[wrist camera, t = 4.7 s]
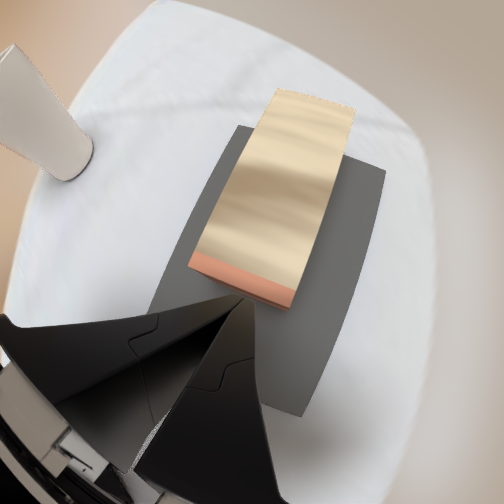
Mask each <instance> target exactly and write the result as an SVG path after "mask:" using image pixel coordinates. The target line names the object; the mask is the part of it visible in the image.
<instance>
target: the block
mask: <svg viewBox="0 0 504 504" xmlns="http://www.w3.org/2000/svg"><path fill="white" fill-rule="evenodd" d="M355 111H356V109H353V108H350V107H347V106H344V105H341V104H338V103H334V102H331V101H328V100H324V99H321V98H317V97H313V96H309V95H306V94H302V93H297V92H293V91H289V90H284V89H280V88H277V90H276V92H275V93H274V95H273V97H272V99H271V100H270V102H269V104H268V106H267V107H266V109H265V111H264V113H263V115H262V116H261V118H260V120H259V122H258V124H257V125H256V127H255V129H254V131H253V133H252V135H251V137H250V138H249V140H248V142H247V144H246V146H245V148H244V150H243V152H242V154H241V156H240V157H239V159H238V161H237V163H236V165H235V167H234V169H233V171H232V173H231V175H230V177H229V179H228V181H227V183H226V185H225V187H224V189H223V191H222V193H221V195H220V197H219V199H218V201H217V203H216V205H215V207H214V210H213V212H212V214H211V216H210V218H209V220H208V222H207V224H206V226H205V229H204V231H203V233H202V235H201V237H200V239H199V241H198V244H197V246H196V248H195V250H194V252H193V255H192V257H191V259H190V261H189V264H188V267H190V268H191V269H193V270H195V271H196V272H198V273H200V274H202V275H203V276H205V277H207V278H208V279H210V280H212V281H213V282H216V283H218V284H220V285H223V286H225V287H228V288H230V289H232V290H235V291H237V292H240V293H242V294H245V295H247V296H249V297H252V298H254V299H257V300H259V301H262V302H264V303H267V304H269V305H272V306H274V307H277V308H280V309H282V310H285V311H287V312H288V310H289V307H290V305H291V302H292V300H293V297H294V295H295V292H296V290H297V287H298V285H299V282H300V279H301V277H302V274H303V272H304V269H305V266H306V263H307V261H308V258H309V255H310V253H311V250H312V247H313V244H314V242H315V239H316V236H317V233H318V230H319V227H320V225H321V222H322V219H323V216H324V213H325V210H326V207H327V204H328V201H329V198H330V195H331V192H332V189H333V186H334V182H335V179H336V176H337V173H338V170H339V166H340V163H341V160H342V157H343V153H344V150H345V146H346V143H347V140H348V136H349V133H350V129H351V126H352V122H353V118H354V115H355Z"/></svg>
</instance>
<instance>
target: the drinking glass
mask: <svg viewBox="0 0 504 504" xmlns="http://www.w3.org/2000/svg"><path fill="white" fill-rule="evenodd" d="M0 144H1V145H3V146H5V147H6V148H8V149H10V150H12V151H13V152H15V153H16V154H18V155H20V156H22V157H23V158H25V159H27V160H28V161H30V162H32V163H33V164H35V165H37V166H38V167H40V168H42V169H43V170H45V171H47V172H48V173H50V174H51V175H53V176H54V177H55V178H57V179H58V180H61V181H67V180H70V179H72V178H74V177H76V176H77V175H78V174H79V173H80V172H81V171H82V170H83V169H84V168H85V166H86V165H87V163H88V161H89V159H90V157H91V155H92V150H93V144H92V141H91V139H90V138H89V137H88V136H87V135H86V133H85V132H84V131H83V130H82V129H81V128H80V127H79V125H78V124H77V123H76V122H75V120H74V119H73V118H72V116H71V115H70V114H69V112H68V111H67V110H66V108H65V107H64V106H63V104H62V103H61V101H60V100H59V99H58V97H57V96H56V94H55V93H54V91H53V90H52V89H51V87H50V86H49V84H48V83H47V81H46V80H45V79H44V77H43V76H42V74H41V73H40V72H39V70H38V69H37V68H36V67H35V65H34V64H33V63H32V61H31V60H30V59H29V58H28V57H27V56H26V55H25V54H24V53H23V51H21V49H20V48H19V47H18V46H17V45H16V44H12V45H10V46H9V47H8V48H7V49H6V50H4V51H3V52H2V53H1V54H0Z"/></svg>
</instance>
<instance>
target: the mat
mask: <svg viewBox="0 0 504 504" xmlns="http://www.w3.org/2000/svg"><path fill="white" fill-rule="evenodd" d="M253 131H254V128H250V127H246V126H241V125H238V127H237V129H236V130H235V132H234V134H233V136H232V137H231V139H230V141H229V143H228V144H227V146H226V148H225V150H224V152H223V153H222V155H221V157H220V159H219V161H218V163H217V164H216V166H215V168H214V170H213V172H212V174H211V176H210V178H209V179H208V181H207V183H206V185H205V187H204V189H203V191H202V193H201V195H200V197H199V199H198V201H197V203H196V205H195V207H194V209H193V211H192V213H191V215H190V217H189V219H188V221H187V223H186V225H185V228H184V230H183V232H182V234H181V236H180V238H179V240H178V242H177V245H176V247H175V249H174V251H173V253H172V256H171V258H170V260H169V262H168V265H167V267H166V269H165V271H164V274H163V276H162V278H161V281H160V283H159V285H158V288H157V290H156V293H155V295H154V297H153V300H152V302H151V305H150V307H149V310H148V312H147V314H151V313H155V312H158V314H159V312H161V311H165V310H169V309H173V308H177V307H181V306H185V305H189V304H193V303H197V302H201V301H205V300H209V299H213V298H217V297H221V296H225V295H229V294H232V293H236V294H238V295H241V296H243V297H244V298H248V299H250V300H253V301H255V360H256V381H257V388H258V394H259V399H260V403H262V404H265V405H268V406H270V407H273V408H276V409H278V410H281V411H284V412H287V413H290V414H293V415H296V416H299V417H302V415H303V413H304V411H305V409H306V407H307V405H308V403H309V401H310V399H311V397H312V395H313V393H314V391H315V389H316V386H317V384H318V382H319V380H320V378H321V375H322V373H323V371H324V369H325V366H326V364H327V362H328V359H329V357H330V355H331V352H332V350H333V347H334V345H335V342H336V340H337V337H338V335H339V332H340V330H341V327H342V324H343V322H344V319H345V316H346V314H347V311H348V308H349V305H350V302H351V300H352V297H353V294H354V291H355V288H356V285H357V282H358V279H359V275H360V272H361V269H362V266H363V263H364V259H365V256H366V252H367V249H368V245H369V242H370V238H371V234H372V231H373V227H374V223H375V219H376V215H377V211H378V206H379V202H380V198H381V193H382V188H383V184H384V179H385V174H386V171H385V170H382V169H380V168H378V167H375V166H373V165H370V164H367V163H365V162H362V161H360V160H357V159H354V158H351V157H349V156H346V155H343V157H342V160H341V163H340V166H339V170H338V173H337V176H336V179H335V182H334V186H333V189H332V192H331V195H330V198H329V201H328V204H327V207H326V210H325V213H324V216H323V219H322V222H321V225H320V227H319V230H318V233H317V236H316V239H315V242H314V244H313V247H312V250H311V253H310V255H309V258H308V261H307V263H306V266H305V269H304V272H303V274H302V277H301V279H300V282H299V285H298V287H297V290H296V292H295V295H294V297H293V300H292V302H291V305H290V307H289V310H288V312H287V311H285V310H282V309H280V308H277V307H274V306H272V305H269V304H267V303H264V302H262V301H259V300H257V299H254V298H252V297H249V296H247V295H245V294H242V293H240V292H237V291H235V290H232V289H230V288H228V287H225V286H223V285H220V284H218V283H216V282H213V281H212V280H210V279H208V278H207V277H205V276H203V275H202V274H200V273H198V272H196V271H195V270H193V269H191V268H190V267H188V264H189V261H190V259H191V257H192V255H193V252H194V250H195V248H196V246H197V244H198V241H199V239H200V237H201V235H202V233H203V231H204V229H205V226H206V224H207V222H208V220H209V218H210V216H211V214H212V212H213V210H214V207H215V205H216V203H217V201H218V199H219V197H220V195H221V193H222V191H223V189H224V187H225V185H226V183H227V181H228V179H229V177H230V175H231V173H232V171H233V169H234V167H235V165H236V163H237V161H238V159H239V157H240V156H241V154H242V152H243V150H244V148H245V146H246V144H247V142H248V140H249V138H250V137H251V135H252V133H253Z"/></svg>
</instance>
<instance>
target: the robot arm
mask: <svg viewBox="0 0 504 504" xmlns="http://www.w3.org/2000/svg"><path fill="white" fill-rule="evenodd" d="M0 345H1V347H2V348H3V350H4V352H5V353H6V355H7V356H8V358H9V359H10V361H11V362H10V363H9V364H7V365H6V366H5V367H4V368H3V366H2V365H1V363H0V504H134V502H133V501H132V499H131V498H130V496H129V495H128V493H127V492H126V490H125V489H124V487H123V486H122V484H121V482H120V481H119V479H118V477H117V476H116V474H115V472H114V471H113V469H112V467H111V465H112V466H114V467H115V468H117V469H118V470H119V471H121V472H122V473H124V474H126V473H127V472H128V470H129V468H130V467H131V465H132V463H133V461H134V460H135V458H136V456H137V454H138V452H139V451H140V449H141V447H142V445H143V443H144V442H145V440H146V438H147V436H148V435H149V434H150V432H151V431H152V430H153V429H154V427H155V426H156V425H157V424H158V423H159V422H160V421H161V419H162V418H163V417H164V416H165V415H166V414H167V412H168V411H169V410H170V409H171V408H172V409H171V410H170V412H169V413H168V415H167V417H166V418H165V420H164V422H163V423H162V425H161V426H160V428H159V430H158V431H157V433H156V434H155V436H154V438H153V439H152V441H151V442H150V444H149V446H148V447H147V449H146V450H145V452H144V453H143V455H142V457H141V458H140V460H139V462H138V463H137V465H136V466H135V468H134V472H135V473H136V474H137V475H138V476H139V477H141V478H142V479H143V480H144V481H145V482H146V483H147V484H149V485H150V486H151V487H152V488H153V489H155V490H156V491H157V492H158V493H159V494H161V495H160V497H159V498H158V500H157V501H156V503H155V504H289V503H288V502H286V501H285V500H284V499H283V498H282V497H281V495H280V493H279V489H278V485H277V480H276V476H275V471H274V467H273V462H272V457H271V453H270V448H269V443H268V438H267V434H266V429H265V424H264V419H263V414H262V409H261V404H260V399H259V394H258V388H257V381H256V360H255V301H253V300H250V299H248V298H244V297H243V296H241V295H238V294H236V293H232V294H229V295H225V296H221V297H217V298H213V299H209V300H205V301H201V302H197V303H193V304H189V305H185V306H181V307H177V308H173V309H169V310H165V311H161V312H159V314H158V312H155V313H151V314H146V315H141V316H136V317H130V318H123V319H115V320H107V321H98V322H89V323H79V324H68V325H57V326H44V327H30V328H21V327H17V326H15V325H14V324H13V323H12V322H11V321H10V319H9V318H8V317H7V316H6V315H5V314H0ZM109 463H110V464H111V465H110V464H109Z"/></svg>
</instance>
